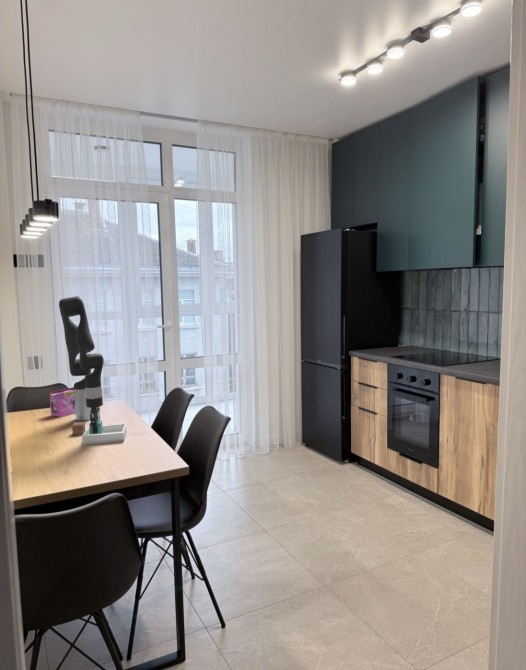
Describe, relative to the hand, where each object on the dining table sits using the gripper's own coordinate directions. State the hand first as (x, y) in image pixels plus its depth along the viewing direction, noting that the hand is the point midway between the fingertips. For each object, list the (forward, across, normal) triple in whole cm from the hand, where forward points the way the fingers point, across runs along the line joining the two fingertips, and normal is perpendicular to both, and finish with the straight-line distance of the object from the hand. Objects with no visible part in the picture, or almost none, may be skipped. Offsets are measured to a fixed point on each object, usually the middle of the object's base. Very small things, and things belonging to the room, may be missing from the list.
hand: (96, 431), depth 222 cm
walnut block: (+4, -12, -10) cm, 16 cm away
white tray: (+3, 0, +4) cm, 5 cm away
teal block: (+1, 0, 0) cm, 1 cm away
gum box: (+4, -60, -23) cm, 65 cm away
